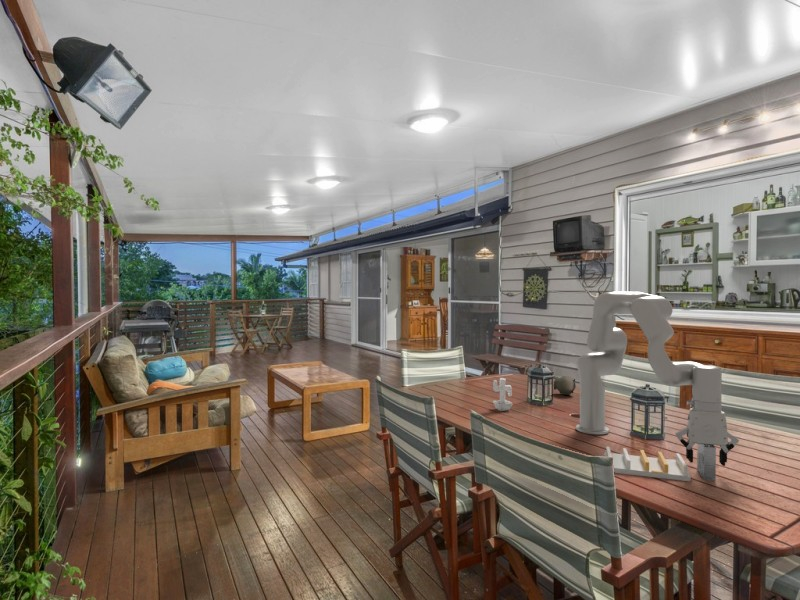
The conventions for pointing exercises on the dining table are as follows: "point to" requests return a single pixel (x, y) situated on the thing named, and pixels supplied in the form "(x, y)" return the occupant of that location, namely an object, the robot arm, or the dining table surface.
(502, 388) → the figurine
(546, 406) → the dining table surface
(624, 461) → the rack
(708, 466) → the panel
